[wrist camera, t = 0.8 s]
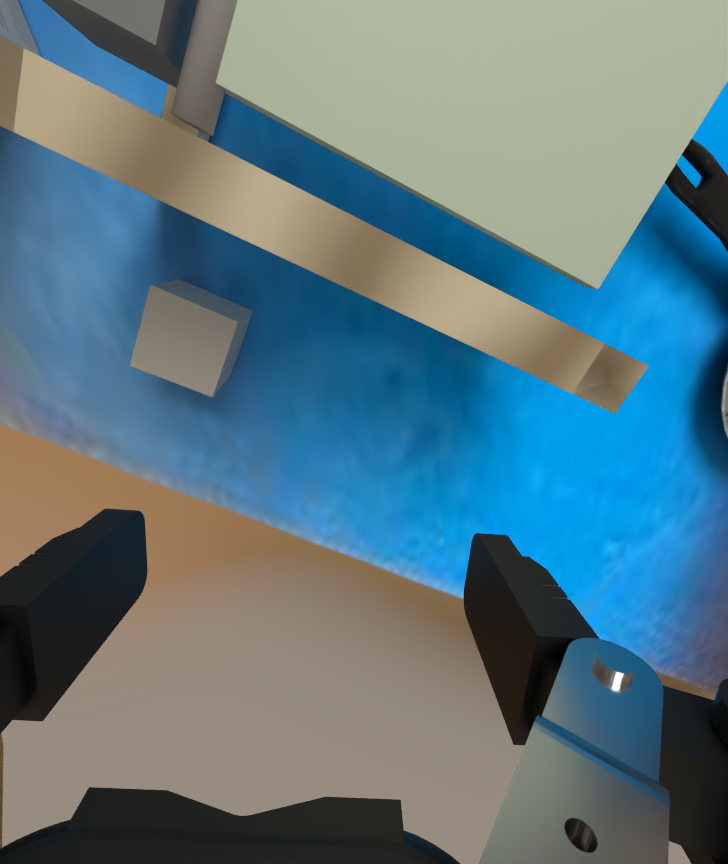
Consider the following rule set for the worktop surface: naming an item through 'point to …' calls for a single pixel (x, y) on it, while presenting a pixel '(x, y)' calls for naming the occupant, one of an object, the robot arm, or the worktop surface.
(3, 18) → the supplement box
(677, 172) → the frying pan
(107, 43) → the trapdoor
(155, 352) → the cube
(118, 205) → the worktop surface
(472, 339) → the frame
